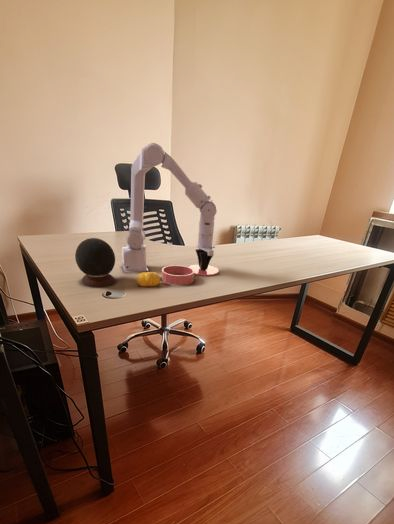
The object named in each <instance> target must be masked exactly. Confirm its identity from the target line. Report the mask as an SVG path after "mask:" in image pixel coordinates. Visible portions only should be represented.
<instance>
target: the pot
mask: <svg viewBox="0 0 394 524" xmlns="http://www.w3.org/2000/svg"><path fill="white" fill-rule="evenodd" d="M161 277H162V282H164V283H166V284H168V285H173V286H186V285H191V284H193V283H194V280H195V274H194V270H193V269H192V268H189V266H185V265H176V264H175V265H174V264H173V265H167V266H164V267H162V268H161Z"/></svg>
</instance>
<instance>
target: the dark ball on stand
mask: <svg viewBox="0 0 394 524" xmlns="http://www.w3.org/2000/svg"><path fill="white" fill-rule="evenodd" d="M74 259H75V262H76V265H77V267H78V269H79V270H80V272H82V273H83V274H84V275H83V277H82V278H81V283H82V285H84V286H86V287H90V288H104V287H109V286H111V285H113V284H114V283H115V278H114V276H113V275H112V274H110V273H111V272H112V271H113V270H114V267H115V265H116V255H115V251H114V249H113V248H112V246H111V245H110V244H109V243H108V242H106V241H105V240H103V239H101V238H97V237H91V238H90V237H89V238H86V239H85V240H83V241H81V242H80V243H79V244H78V246H77V247H76V250H75V255H74Z"/></svg>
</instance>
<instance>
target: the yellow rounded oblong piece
mask: <svg viewBox="0 0 394 524" xmlns="http://www.w3.org/2000/svg"><path fill="white" fill-rule="evenodd" d="M136 282H137V284H138V285H139V286H140V287H142V288H147V287H156V286H158V285H159V284H160V282H163V280H162V276H160V275H159V274H158V272H155V271H142V272H139V273H138V274H137V277H136Z"/></svg>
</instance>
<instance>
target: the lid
mask: <svg viewBox="0 0 394 524" xmlns="http://www.w3.org/2000/svg"><path fill="white" fill-rule="evenodd" d="M188 267H189V268H192V269H193V270H194V276H195V275H197V276H202V277H210V276H216V275H218V274H219V271H220V270H219V268H217V267H215V266H213V265H210V264H209V265H208V268H207V270H202V269H201V264H200V267H199V264H191V265H189V266H188Z"/></svg>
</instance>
